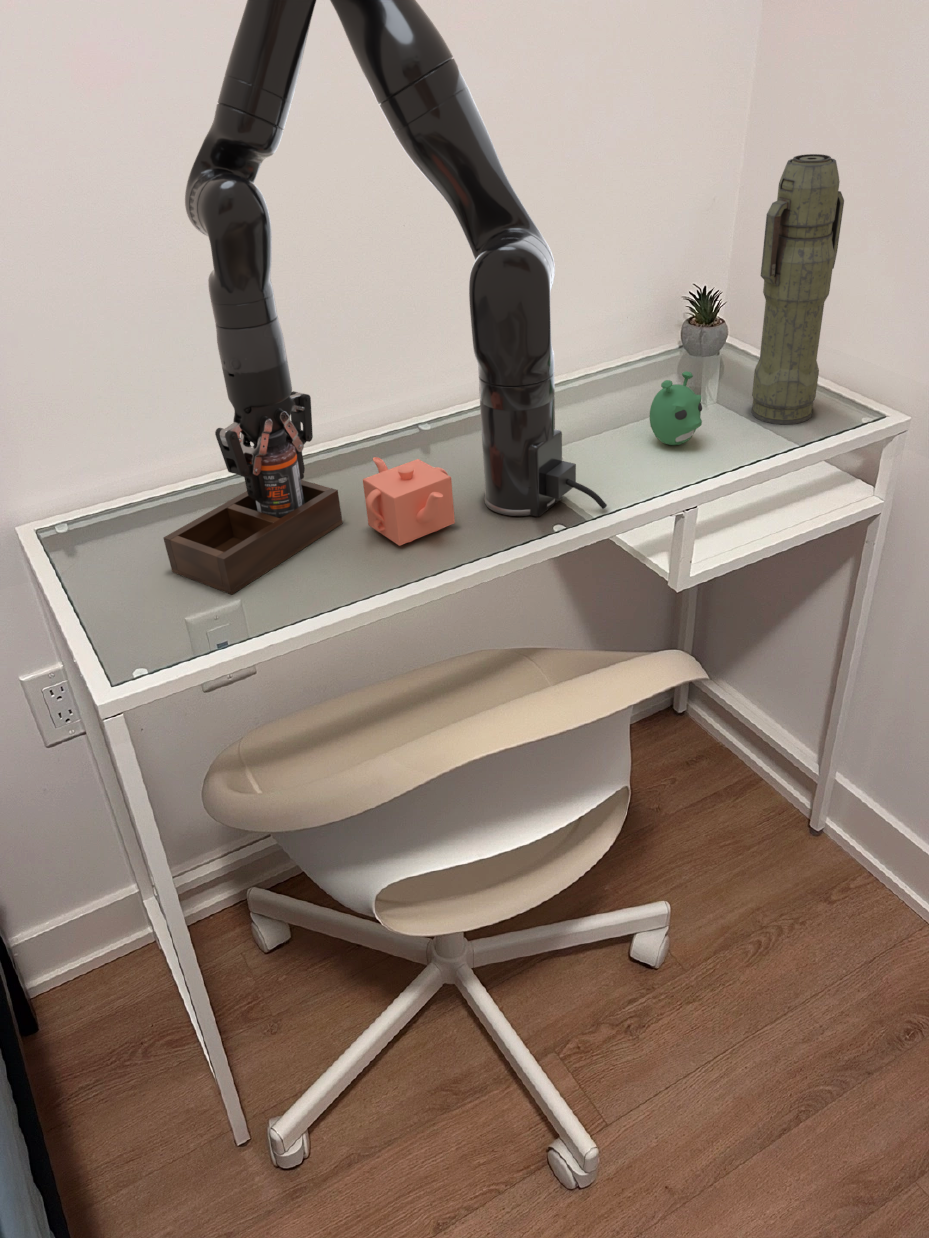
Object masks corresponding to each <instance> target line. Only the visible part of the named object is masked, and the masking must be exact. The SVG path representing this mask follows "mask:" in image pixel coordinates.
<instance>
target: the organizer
mask: <svg viewBox="0 0 929 1238" xmlns="http://www.w3.org/2000/svg"><path fill="white" fill-rule="evenodd" d="M301 485H302V492H303V498H304V504H303V505H302V506H300V507H298V508H297V509H295V510H293V511H292V512H290V513H288V514H287V515H285V516H283V517H282V518H277V517H274V516H271V515H267V514H264V513H261V512H258V510H257V505H256V500H253V499H252V498H251V497H249V495H248V493H247V490H245V491H244V492H242V493H240V494H239V495H237V496H235V497H232V498H231V499H229V500H228V501H226V502H223V503H222V504H220V505H219V506H216V507H214V509H212V510H210V511H208V512H206V513H205V514H203V515H201V516H199V517H197V518H195V519H194V520H192V521H190V522H188V523H187V524H185V525H183V526H181V527H180V528H178V529H176V530H174V531H173V532H171V533H168V534H167V535H164V536H163V537H162V538H163V542H164V546H165V550H166V553H167V557H168V561H169V565H170V569H171V572H172V573H173V574H177V575H180V576H182V577H185V578H187V579H189V580H193V581H194V582H195V581H196V582H198V583H200V584H203V585H205V586H208V587H210V588H213V589H215V590H219V591H221V592H223V593H226V594H229V595H234V594H235V593H238V591H240V590H241V589H244V588H245V587H246V586H248V585H249V584H252V583H253V582H254V581H256V580H257V579H258V578H260V577H262V576H263V575H265V574H266V573H268V572H269V571H271V570H273V569H274V568H276V567H277V566H279V565H281V564H282V563H283V562H285V561H286V560H288V559H289V558H291V557H293V556H294V555H296V554H297V553H299V552H301V551H302V550H304V549H305V548H307V547H308V546H310V545H311V544H313V543H314V542H316V541H318V540H319V539H321V538H322V537H324V536H326V535H327V534H329V533H330V532H332V531H334V530H335V529H336V528H338V527H339V526H341V525H342V524H343V523H344V522H343V516H342V515H343V514H342V509H341V503H340V502H341V501H340V496H339V489H336V488H333V487H328V486H326V485H322V484H318V483H315V482H311V481H307V480H304V479H301Z"/></svg>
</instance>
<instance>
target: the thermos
mask: <svg viewBox="0 0 929 1238" xmlns="http://www.w3.org/2000/svg"><path fill="white" fill-rule="evenodd" d="M840 181H841V180H840V175H839V168H838V163H837V160H836V159H835V158H832V156H831V155H827V154H819V153H815V154H814V153H809V154H799V155H796V156H793V158H790V159H788V160H787V162H786V164H785V167H784V169H783V171H782V174H781V176H780V179H779V181H778V188H777V199H776V201H773V202H771V204H770V207H769V208H768V210H767V213H766V217H765V225H764V226H765V228H764V238H763V248H762V257H761V267H760V277H761V278H762V279H763V287H762V288H763V289H762V290H763V291H762V294H763V296H764V299H765V302H764V312H763V324H762V333H761V343H760V353H759V359H758V361H757V363H756V366H755V368H754V373H753V382H752V392H751V396H752V407H751V414H752V416H753V417H754V418H756V419H757V420H759V421H762V422H764V423H769V424H774V425H775V424H776V425H795V424H801V423H804V422H807V421H808V420H810V419H811V418H812V415H813V406H814V402H815V401H816V396H817V390H818V389H817V388H818V382H819V375H820V369H819V368H820V367H819V365H818V352H819V345H820V339H821V331H822V324H823V315H824V310H825V309H824V308H825V302H826V300H827V298H828V297H829V294H830V290H831V285H832V276H833V270H834V269H835V264H836V259H837V255H838V249H839V241H840V235H841V228H842V219H843V213H844V207H845V199H844V197H843V194H842V191H840V190H839V189H840V184H841V183H840Z"/></svg>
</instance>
